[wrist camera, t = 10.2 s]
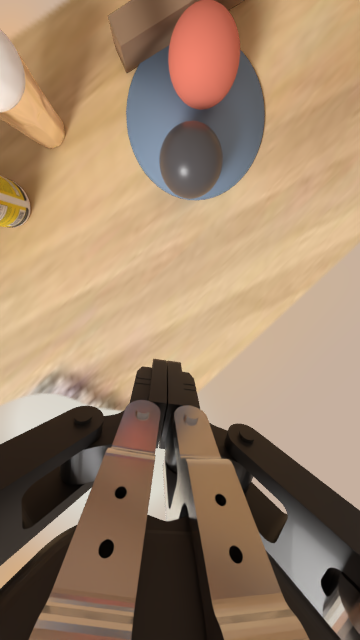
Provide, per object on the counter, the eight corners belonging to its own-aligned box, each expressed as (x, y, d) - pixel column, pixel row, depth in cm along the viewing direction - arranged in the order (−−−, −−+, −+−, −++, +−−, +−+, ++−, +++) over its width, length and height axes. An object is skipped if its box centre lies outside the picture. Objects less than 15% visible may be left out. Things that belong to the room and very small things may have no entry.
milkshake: (18, 88, 21) (-103, -43, 12) (76, 112, 22) (7, 10, 12) (13, 142, 22) (-101, 64, 13) (67, 163, 23) (-2, 105, 14)
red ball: (169, 63, 22) (168, 125, 22) (167, -33, 16) (166, 55, 16) (230, 65, 22) (229, 127, 22) (251, -28, 16) (249, 58, 16)
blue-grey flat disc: (143, 209, 25) (142, 209, 25) (111, 44, 20) (110, 42, 20) (266, 189, 25) (267, 188, 25) (260, 19, 21) (261, 17, 20)
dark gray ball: (168, 192, 26) (175, 219, 22) (146, 130, 21) (151, 150, 17) (218, 171, 25) (234, 195, 21) (207, 101, 20) (225, 115, 17)
